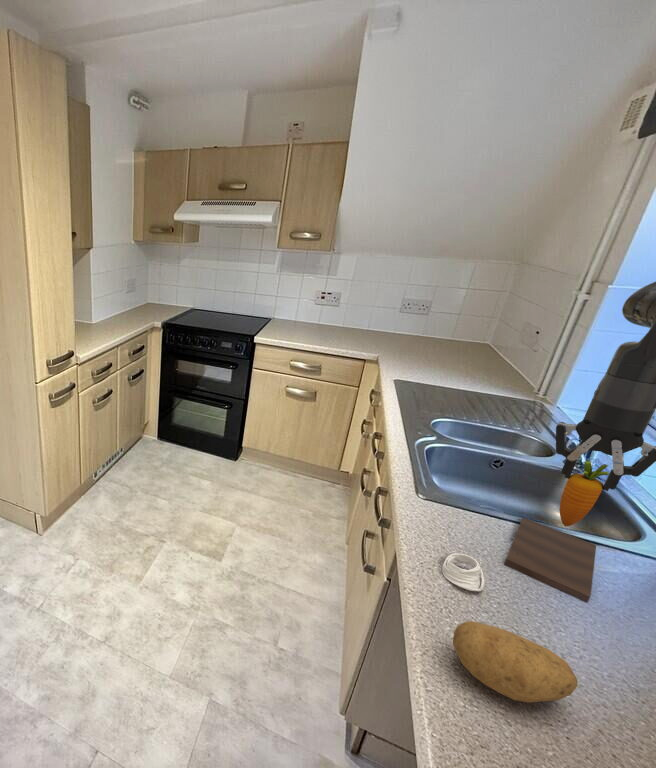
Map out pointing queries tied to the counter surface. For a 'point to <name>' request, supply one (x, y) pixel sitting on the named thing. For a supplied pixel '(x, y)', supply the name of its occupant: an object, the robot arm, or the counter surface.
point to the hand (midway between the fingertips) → (585, 482)
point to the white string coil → (463, 572)
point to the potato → (513, 663)
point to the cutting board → (553, 558)
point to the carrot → (581, 494)
